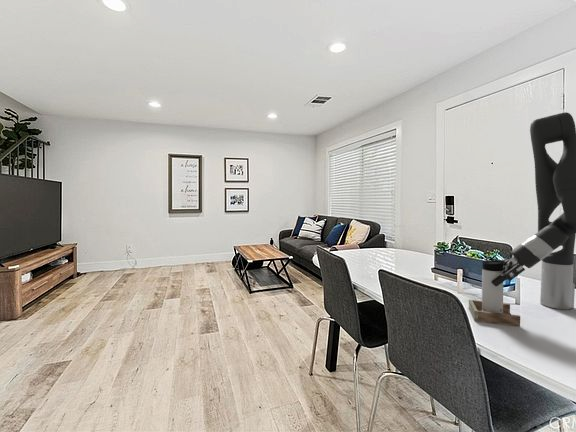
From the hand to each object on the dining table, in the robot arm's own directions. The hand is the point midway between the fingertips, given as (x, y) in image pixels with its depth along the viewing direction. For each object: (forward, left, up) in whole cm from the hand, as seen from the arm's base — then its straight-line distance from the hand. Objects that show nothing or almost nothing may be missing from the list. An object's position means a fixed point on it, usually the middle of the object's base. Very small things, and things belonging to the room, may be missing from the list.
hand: (490, 281), depth 106 cm
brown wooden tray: (-1, 0, -13) cm, 13 cm away
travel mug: (-1, 0, -13) cm, 13 cm away
